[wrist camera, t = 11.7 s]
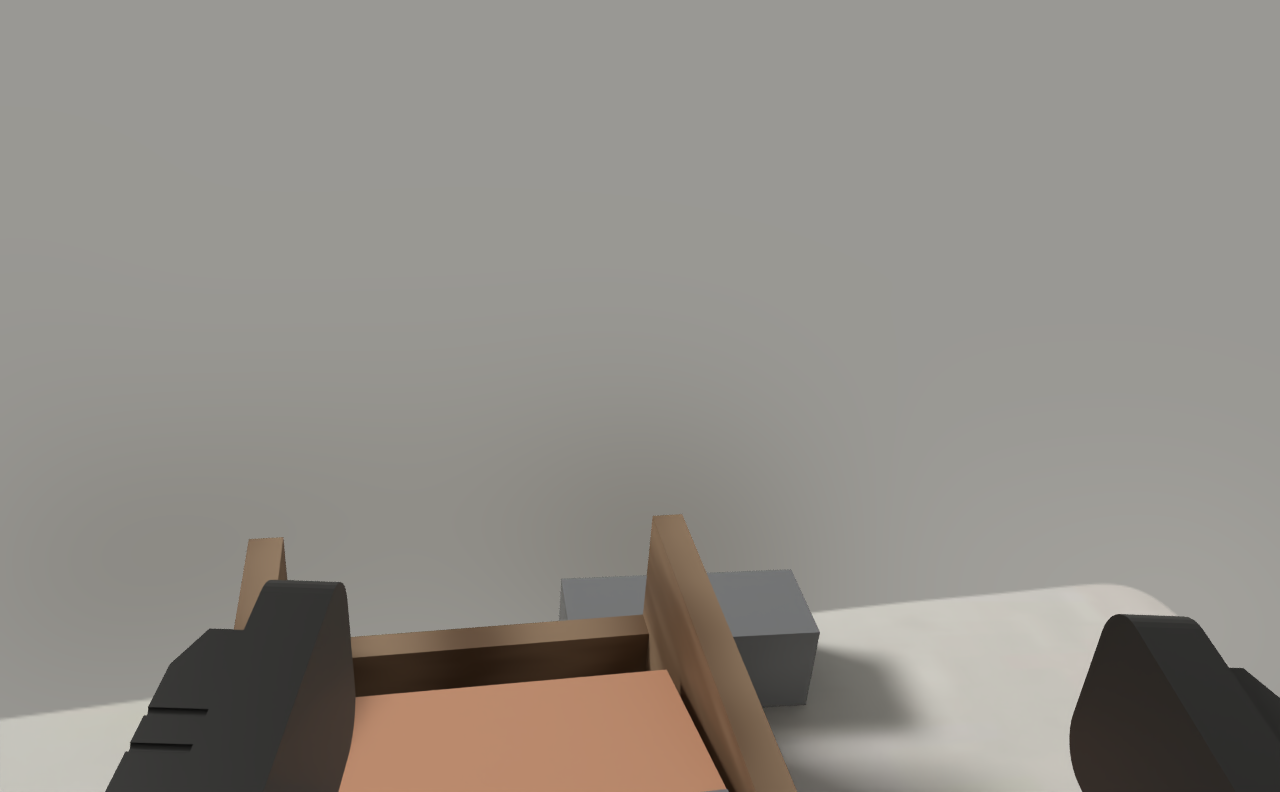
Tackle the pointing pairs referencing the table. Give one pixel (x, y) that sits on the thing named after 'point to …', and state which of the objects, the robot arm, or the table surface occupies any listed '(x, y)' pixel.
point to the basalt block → (754, 610)
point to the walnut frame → (586, 654)
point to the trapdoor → (531, 739)
